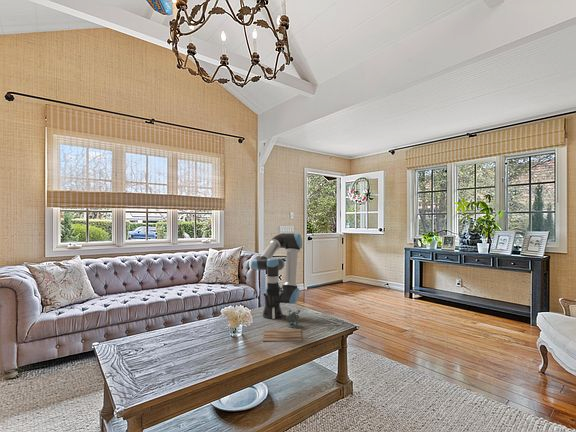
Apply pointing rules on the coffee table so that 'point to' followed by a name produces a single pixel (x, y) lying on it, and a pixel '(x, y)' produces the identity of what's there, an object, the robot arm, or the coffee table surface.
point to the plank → (282, 332)
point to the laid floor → (282, 338)
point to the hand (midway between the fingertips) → (273, 317)
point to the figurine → (293, 319)
